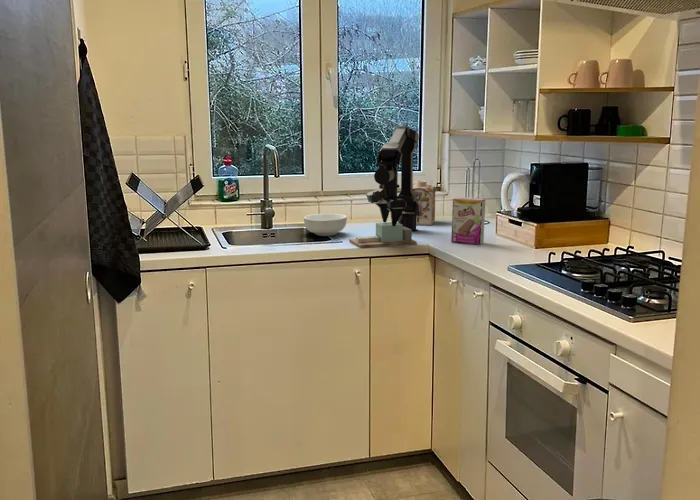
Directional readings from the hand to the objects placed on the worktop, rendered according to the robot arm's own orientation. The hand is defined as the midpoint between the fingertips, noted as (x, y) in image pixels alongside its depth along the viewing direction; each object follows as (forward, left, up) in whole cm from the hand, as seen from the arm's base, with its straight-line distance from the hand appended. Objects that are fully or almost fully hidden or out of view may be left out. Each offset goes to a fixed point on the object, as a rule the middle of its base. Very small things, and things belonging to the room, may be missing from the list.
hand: (389, 224), depth 263 cm
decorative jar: (-29, -37, -7) cm, 47 cm away
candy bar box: (-28, +9, -7) cm, 30 cm away
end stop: (-6, 0, -7) cm, 9 cm away
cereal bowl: (+17, -24, -7) cm, 31 cm away
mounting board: (+2, 0, -7) cm, 7 cm away
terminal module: (0, 0, -6) cm, 6 cm away
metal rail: (+2, 0, -7) cm, 7 cm away
